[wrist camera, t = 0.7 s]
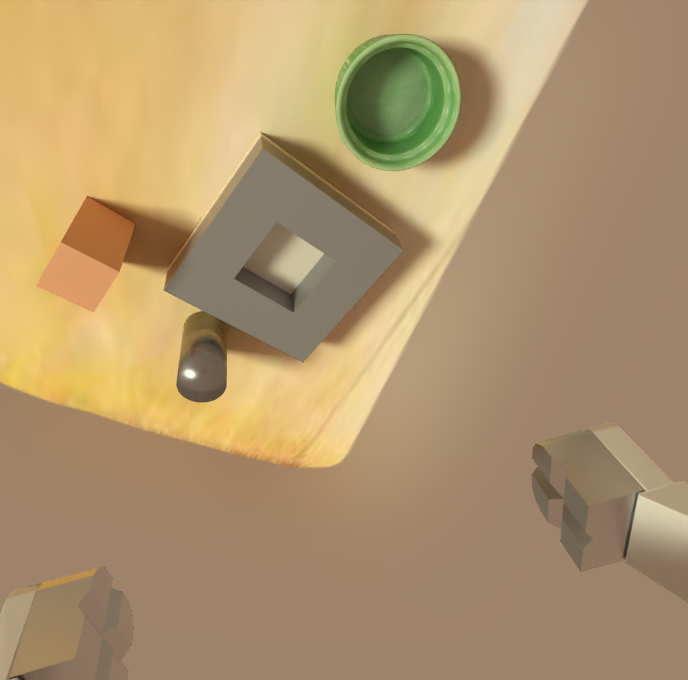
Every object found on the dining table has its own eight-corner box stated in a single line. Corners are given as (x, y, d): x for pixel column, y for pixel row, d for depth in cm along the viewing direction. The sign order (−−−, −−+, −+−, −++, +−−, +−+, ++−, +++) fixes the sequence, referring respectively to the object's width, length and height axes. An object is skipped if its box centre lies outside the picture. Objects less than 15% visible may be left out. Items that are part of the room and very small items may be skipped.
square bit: (87, 196, 42) (60, 242, 35) (135, 223, 44) (119, 271, 37) (64, 234, 43) (36, 285, 37) (113, 259, 45) (93, 312, 39)
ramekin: (356, 3, 37) (368, 9, 34) (463, 56, 40) (485, 67, 37) (310, 129, 42) (317, 146, 38) (410, 168, 45) (425, 187, 41)
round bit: (197, 304, 49) (192, 358, 43) (235, 323, 51) (235, 378, 45) (175, 334, 51) (167, 390, 44) (213, 352, 52) (210, 408, 46)
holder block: (260, 132, 41) (262, 148, 38) (392, 229, 48) (403, 250, 45) (168, 266, 46) (163, 290, 43) (298, 337, 53) (302, 362, 50)
